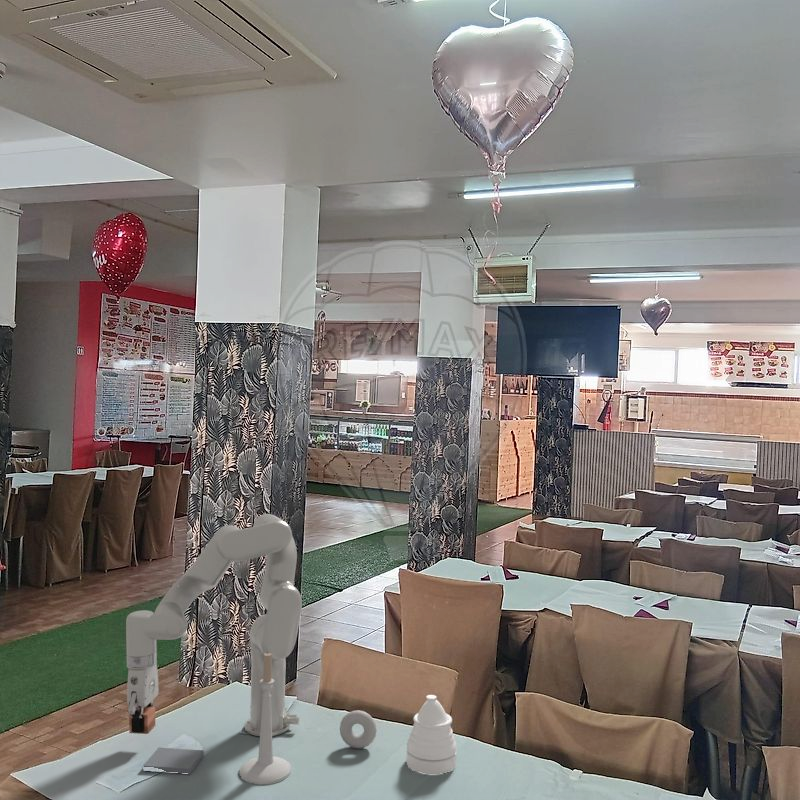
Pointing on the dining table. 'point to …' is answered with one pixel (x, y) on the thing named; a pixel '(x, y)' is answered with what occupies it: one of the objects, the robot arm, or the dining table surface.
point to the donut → (363, 720)
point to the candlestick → (266, 741)
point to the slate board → (174, 759)
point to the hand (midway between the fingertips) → (142, 726)
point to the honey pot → (431, 740)
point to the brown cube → (145, 719)
